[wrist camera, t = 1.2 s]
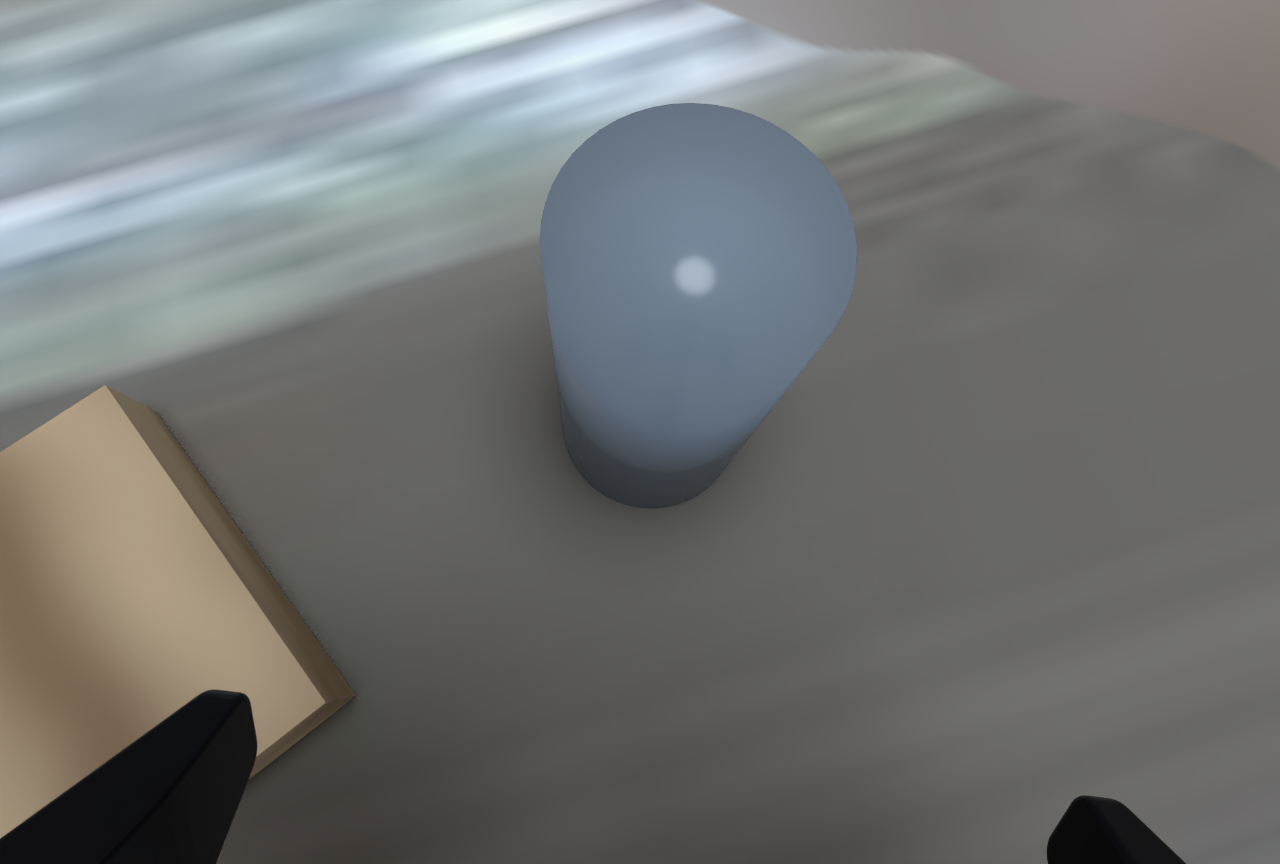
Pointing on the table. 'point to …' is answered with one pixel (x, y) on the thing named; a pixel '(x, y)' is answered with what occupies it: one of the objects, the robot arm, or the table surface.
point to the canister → (686, 291)
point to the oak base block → (131, 604)
